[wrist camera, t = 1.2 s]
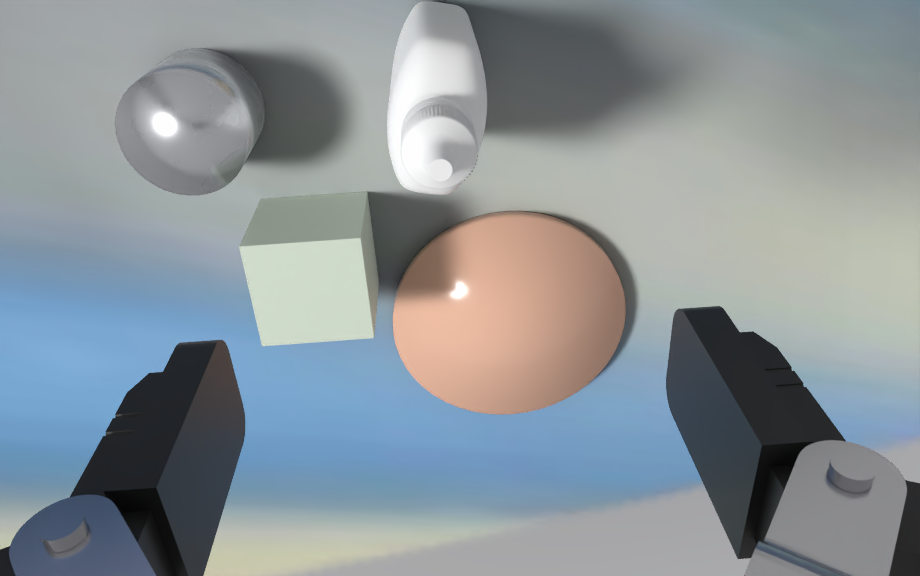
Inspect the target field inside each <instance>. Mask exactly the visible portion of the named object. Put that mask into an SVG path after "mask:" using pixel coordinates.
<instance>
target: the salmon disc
mask: <svg viewBox="0 0 920 576" xmlns="http://www.w3.org/2000/svg"><path fill="white" fill-rule="evenodd" d="M625 317H626V302H625V296H624V290H623V287H622V284H621V281H620V278H619V276H618V274H617V272H616V270H615V268H614V266H613V264H612V262H611V260H610V258H609V257H608V256H607V254H606V253H605V251H604V250H603V249H602V247H601V246H600V245H599V244H598V243H597V242H596V241H595V240H594V239H593V238H592V237H590V236H589V235H587V234H586V233H585V232H583V231H582V230H581V229H579V228H577V227H575V226H574V225H572V224H570V223H568V222H566V221H563V220H561V219H558V218H555V217H553V216H549V215H544V214H540V213H534V212H525V211H504V212H496V213H489V214H485V215H481V216H477V217H473V218H471V219H468V220H466V221H463V222H461V223H458V224H456V225H454V226H453V227H451V228H449V229H447V230H445V231H443V232H442V233H441V234H439V235H438V236H436V237H435V238H434V239H432V240H431V241H430V242H429V243H428V244H427V245H426V246H424V247H423V248H422V249H421V250H420V251H419V253H418V254H417V255H416V256H415V257H414V259H413V260H412V261H411V262H410V264H409V266H408V267H407V269H406V270H405V272H404V274H403V276H402V278H401V281H400V283H399V285H398V289H397V292H396V296H395V301H394V310H393V333H394V338H395V343H396V347H397V349H398V352H399V355H400V357H401V359H402V361H403V363H404V365H405V366H406V368H407V369H408V371H409V372H410V373H411V375H412V376H413V377H414V378H415V379H416V380H417V381H418V382H419V383H420V384H421V385H422V386H423V387H424V388H425V389H426V390H428V391H429V392H430V393H432V394H433V395H435V396H436V397H438V398H440V399H441V400H443V401H445V402H447V403H450V404H452V405H454V406H457V407H460V408H463V409H466V410H470V411H474V412H480V413H487V414H516V413H524V412H529V411H534V410H538V409H541V408H544V407H547V406H550V405H553V404H555V403H558V402H560V401H562V400H564V399H566V398H568V397H570V396H571V395H573V394H575V393H576V392H578V391H579V390H581V389H582V388H583V387H585V386H586V385H587V384H589V383H590V382H591V381H592V380H593V379H594V378H595V377H596V376H597V375H598V374H599V373H600V372H601V371H602V369H603V368H604V367H605V366H606V365H607V363H608V362H609V360H610V359H611V357H612V356H613V354H614V352H615V350H616V348H617V346H618V344H619V342H620V339H621V336H622V332H623V329H624V323H625Z"/></svg>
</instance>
